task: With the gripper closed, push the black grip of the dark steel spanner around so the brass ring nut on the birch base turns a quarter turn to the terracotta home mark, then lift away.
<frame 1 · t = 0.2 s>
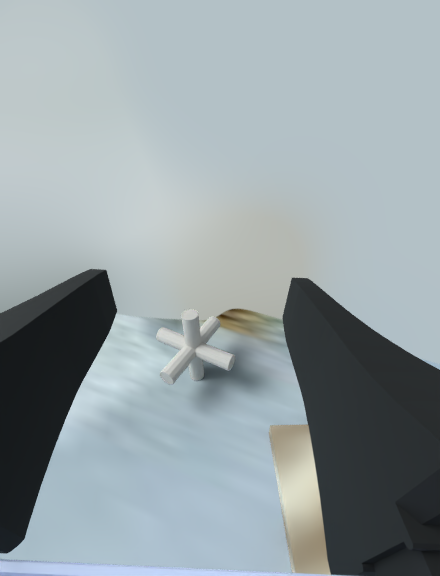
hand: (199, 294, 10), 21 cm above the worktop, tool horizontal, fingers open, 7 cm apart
pipe connector: (197, 375, 32), on the worktop
nut base: (399, 558, 18), on the worktop
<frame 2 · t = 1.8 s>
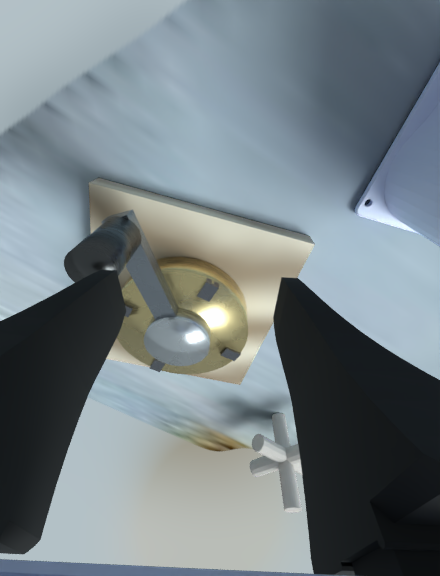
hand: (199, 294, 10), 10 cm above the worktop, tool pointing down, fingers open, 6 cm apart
pipe connector: (278, 414, 35), on the worktop
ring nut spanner: (165, 321, 18), point 5 cm above the worktop, hinge at 0.0°
nut base: (187, 300, 23), on the worktop
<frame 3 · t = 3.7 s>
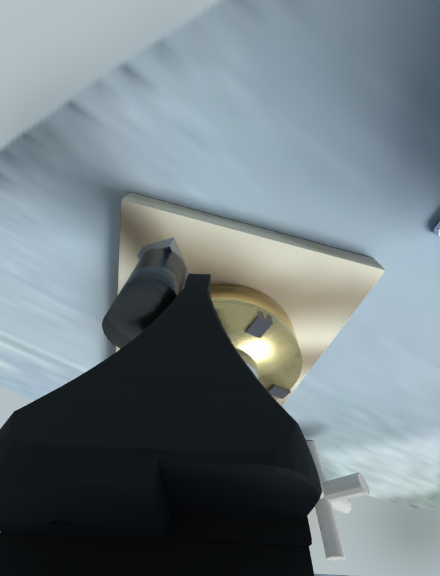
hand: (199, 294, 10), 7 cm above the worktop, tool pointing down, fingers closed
pipe connector: (308, 442, 32), on the worktop
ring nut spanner: (209, 364, 15), point 5 cm above the worktop, hinge at 2.3°, touching gripper
nut base: (222, 328, 20), on the worktop
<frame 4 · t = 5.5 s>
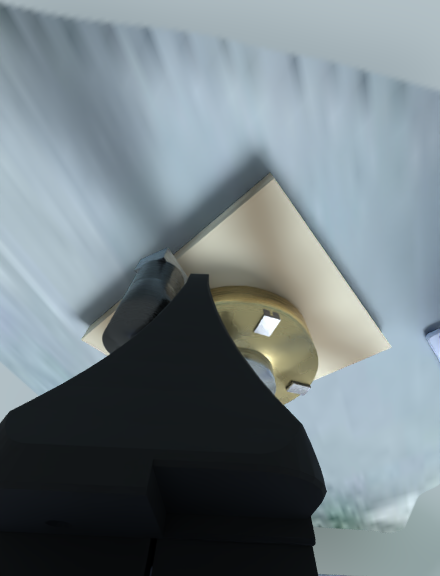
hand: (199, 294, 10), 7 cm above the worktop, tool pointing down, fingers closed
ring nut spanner: (221, 367, 15), point 5 cm above the worktop, hinge at 44.4°, touching gripper
nut base: (234, 329, 20), on the worktop
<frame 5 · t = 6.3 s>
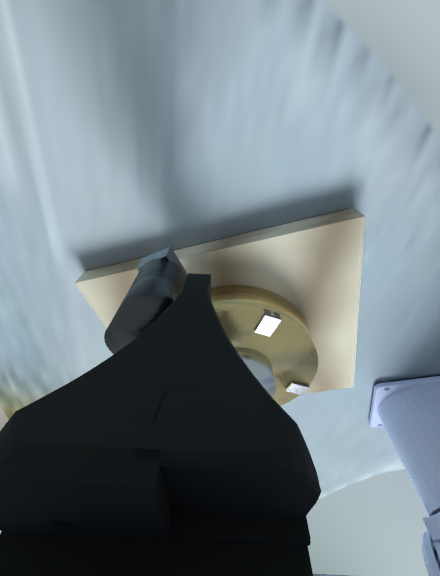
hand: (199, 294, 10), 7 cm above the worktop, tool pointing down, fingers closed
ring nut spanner: (221, 367, 15), point 5 cm above the worktop, hinge at 70.0°, touching gripper
nut base: (234, 329, 20), on the worktop
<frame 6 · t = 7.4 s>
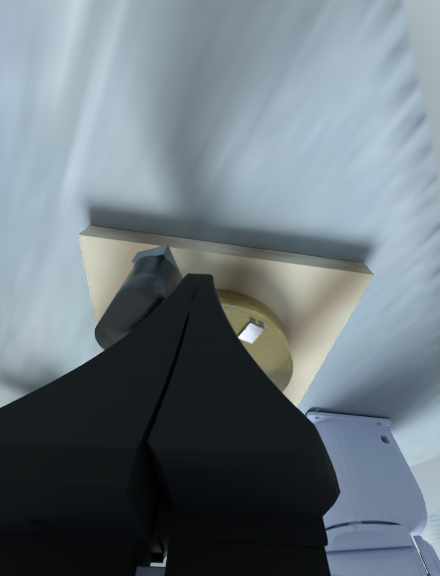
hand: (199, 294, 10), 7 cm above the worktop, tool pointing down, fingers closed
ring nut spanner: (201, 368, 15), point 5 cm above the worktop, hinge at 83.9°, touching gripper
nut base: (215, 331, 21), on the worktop
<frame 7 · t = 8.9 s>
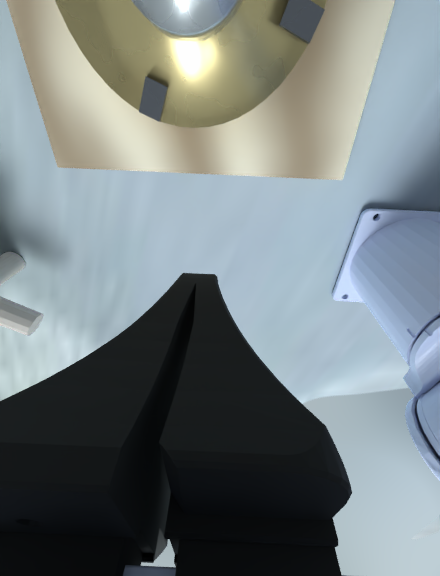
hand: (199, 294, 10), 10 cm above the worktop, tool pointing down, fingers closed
pipe connector: (16, 259, 22), on the worktop
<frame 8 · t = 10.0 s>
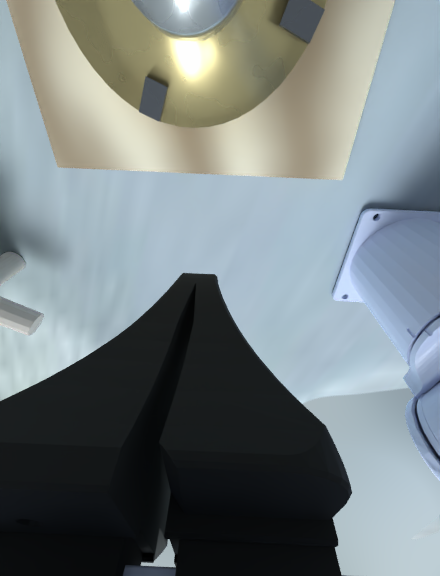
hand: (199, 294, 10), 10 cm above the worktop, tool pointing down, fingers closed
pipe connector: (16, 259, 22), on the worktop
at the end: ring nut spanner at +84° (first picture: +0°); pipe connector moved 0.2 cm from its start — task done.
